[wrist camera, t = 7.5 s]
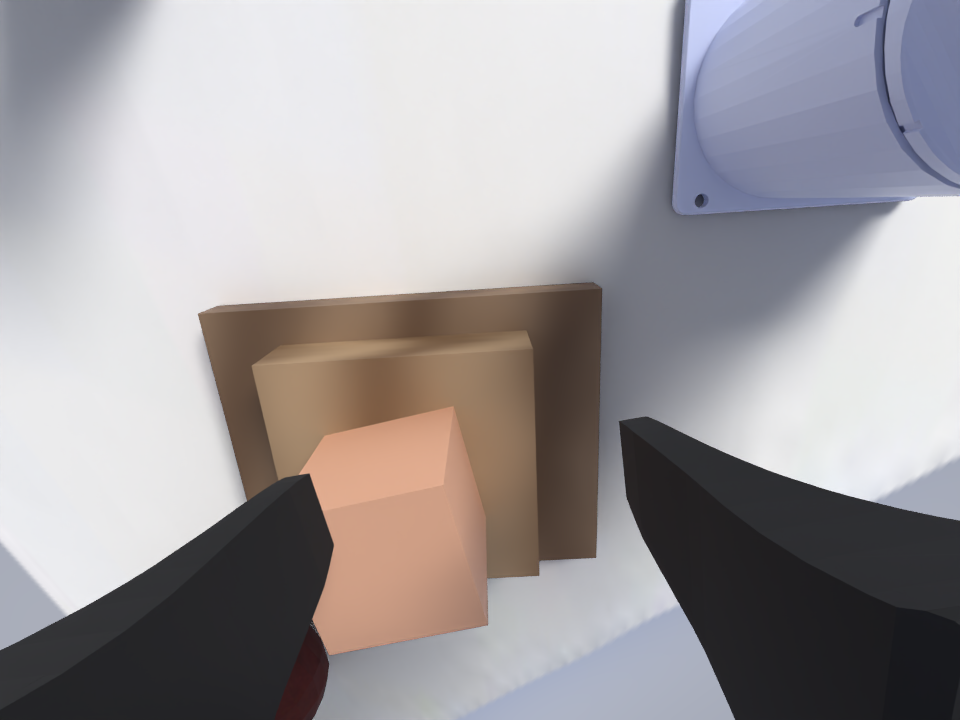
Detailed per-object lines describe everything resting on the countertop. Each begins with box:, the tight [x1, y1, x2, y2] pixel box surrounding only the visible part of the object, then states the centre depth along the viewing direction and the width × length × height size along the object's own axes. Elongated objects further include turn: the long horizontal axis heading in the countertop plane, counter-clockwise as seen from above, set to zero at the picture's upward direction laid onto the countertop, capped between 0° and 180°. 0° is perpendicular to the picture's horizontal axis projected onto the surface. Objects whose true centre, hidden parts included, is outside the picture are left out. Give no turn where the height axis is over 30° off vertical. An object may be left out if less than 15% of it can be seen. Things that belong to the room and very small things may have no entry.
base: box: [198, 282, 602, 578], centre depth 20 cm, size 16×13×4 cm
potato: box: [275, 626, 329, 720], centre depth 22 cm, size 7×8×7 cm
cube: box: [299, 406, 488, 655], centre depth 16 cm, size 5×5×5 cm
